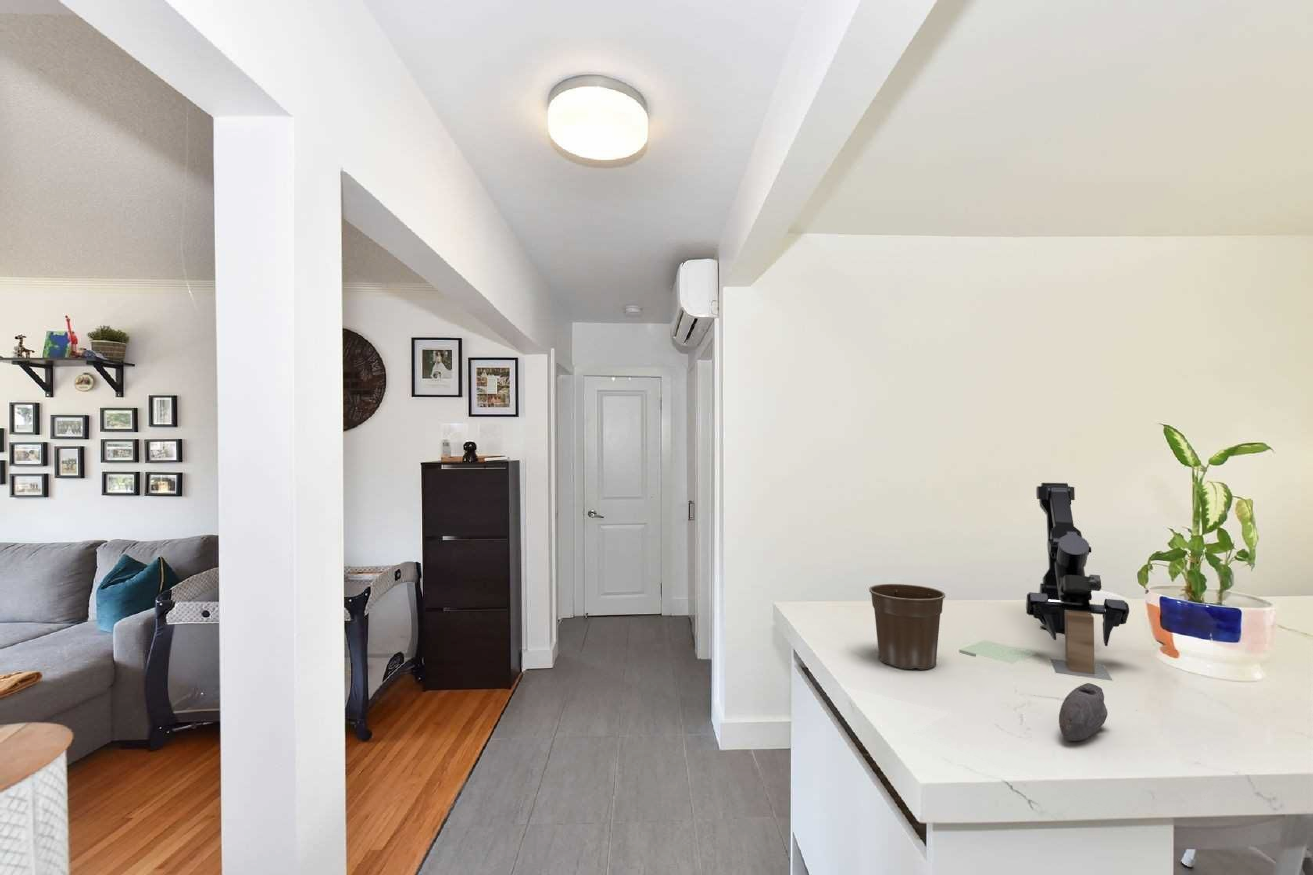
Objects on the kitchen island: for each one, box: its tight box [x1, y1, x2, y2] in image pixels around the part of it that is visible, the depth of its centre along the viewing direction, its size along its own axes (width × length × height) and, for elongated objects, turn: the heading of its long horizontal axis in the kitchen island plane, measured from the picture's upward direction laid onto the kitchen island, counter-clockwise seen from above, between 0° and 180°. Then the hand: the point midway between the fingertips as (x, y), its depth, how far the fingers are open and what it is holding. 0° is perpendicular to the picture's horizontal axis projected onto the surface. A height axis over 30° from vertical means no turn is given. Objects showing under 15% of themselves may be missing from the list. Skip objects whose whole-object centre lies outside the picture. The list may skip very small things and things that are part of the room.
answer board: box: [959, 639, 1037, 665], centre depth 145 cm, size 12×12×1 cm
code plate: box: [1049, 658, 1114, 681], centre depth 133 cm, size 10×10×1 cm
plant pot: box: [868, 583, 946, 671], centre depth 140 cm, size 16×16×16 cm
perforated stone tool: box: [1058, 682, 1109, 742], centre depth 105 cm, size 15×5×7 cm, turn 128°
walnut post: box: [1064, 610, 1096, 674], centre depth 133 cm, size 5×5×12 cm
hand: (1080, 642), depth 132 cm, fingers open, 9 cm apart
